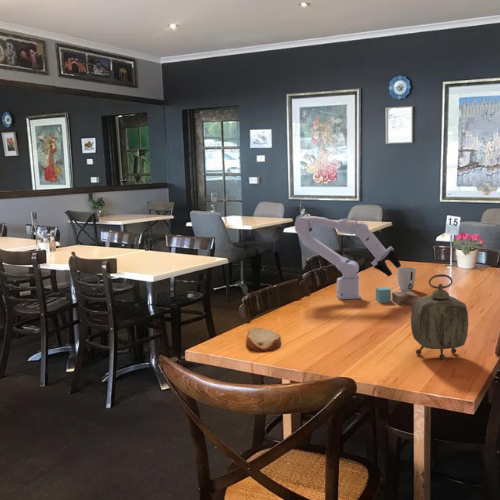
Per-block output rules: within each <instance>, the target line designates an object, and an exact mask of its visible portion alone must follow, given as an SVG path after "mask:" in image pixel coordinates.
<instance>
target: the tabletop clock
mask: <svg viewBox="0 0 500 500" xmlns="http://www.w3.org/2000/svg"><path fill="white" fill-rule="evenodd" d="M440 277H443V278H447V279H449V280H450V283H449V284H446V285H443V284H442V283H439V284H438V286H435V285H432V283H431V282H432V280H433V279H435V278H440ZM428 284H429V286H430V287H431V288H433V289H435V290H434V291H433V292H432V293H431V295H424V296H421V297H420V296H418V298H417V299H415V300H414V303H413V305H411V306H412V307H411V314H410V325H411V326H410V328H411V334H412V336H413V339H414V341H416V342H417V343H418V344H419V345H420V348H419V349H416V350H415V354H416V355H418V356H419V355H421V354H422V350H423V349H424V348H426V349H431V350H440V355H438V356H439V360H442V361H443V360H445V359H446V356H445V355H444V350H448V349H450V353H452V354H456V353H457V348H460V347H462V346H465V343H466V341H467V338H468V333H469V311H468V307H467V305H466V303H465V302H463V301H462V300H459V299H457V298H456V297H453V296H450V294H449V292H448V291H447V290H445V289H447V288H449V287H451V286H452V285H453V278H452V277H451V276H449V274H448V275H447V274H444V273H443V274H435V275H432V276H431V277H430V278H429V280H428Z"/></svg>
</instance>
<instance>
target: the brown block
mask: <svg viewBox="0 0 500 500" xmlns="http://www.w3.org/2000/svg"><path fill="white" fill-rule="evenodd" d="M417 298H419V295H418V294H417V293H414V292H413V291H391V302H393V303H394V304H396V305H397V306H413V303H414V300H415V299H417Z"/></svg>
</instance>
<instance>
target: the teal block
mask: <svg viewBox="0 0 500 500" xmlns="http://www.w3.org/2000/svg"><path fill="white" fill-rule="evenodd" d="M375 301H376V302H377V303H378V304H379V303H382V304H383V303H391V302H392V289H391V288H390V287H388V286H383V287H379V286H377V287H375Z"/></svg>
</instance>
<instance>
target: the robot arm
mask: <svg viewBox="0 0 500 500" xmlns="http://www.w3.org/2000/svg"><path fill="white" fill-rule="evenodd" d="M315 227H324V228H330V229H336V231H337V232H339V233H343V234H346V235H352V236H353V235H354V236H355V237H357V238H359V239H360V240H361V241H362V243H363V245H364V246H365V247H366V248H367V249H368V251H369V252H370V253H371V254H372V256H373V257H374V259H373V260H372V261H371V262H370V264H371V265H372V266H373V268H374V269H376V270H377V271H380V272H382V273H383V274H384V275H386V276H387V277H390V276H392V275H393V273H392V271H391V269H390V268H389V266H388V265H387V263H386V261H385V259H387V260H388V261H390V263H391V264H392V265H393V266H394V267H395V268H396V269H397V268H400V267H402V264H401V262H400V260H399V258H398V253H397V250H396V249H394V248H393V246H392V245H390V246H389V247H388V248H387V247H386V248H385V246H384V245H383V244H382V243H381V241H380V240H379V239H378V238H377V237H376V235H375V234H374V233H372V231H371V230H370V228H369V225H368V224H367V223H366V222H363V221H359V222H358V221H357V220H355V221H353V220H349V219H347V218H346V217H345V218H343V219H342V218H341V219H339V220H333V219H328V218H325V217H320V216H314V215H313V216H309V215H303V216H302V217H298V218H297V219H296V220H295V222H294V231H295V232H296V233H297V235H298V238H299V239H300V241H301V243H302V244H303V245H304V246H306V247H307V248H308V249H310V250H312V251H313V252H314V253H316V254H318V255H319V257H322V258H323V259H325V260H326V261H328V262H329V263H330V264H332V265H333V266H335V268H337V270H338V271H339V272H340V273H341V274H342V276H340V277H337V278H336V297H337V298H338V299H340V300H356V299H360V300H361V299H362V296H360V294H359V293H360V282H359V281H360V276H359V275H358V272H359V271H360V265H359V263H358V262H357V261H355V260H352V259H349V258H347V257H345V256H342V255H340V254H339V253H338V252H336V251H335V250H334V249H331V248H330V247H329V246H327V245H325V244H324V243H322V242H321V241H320V240H318V239H317V238H315V237H314V234H313V228H315Z"/></svg>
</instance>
